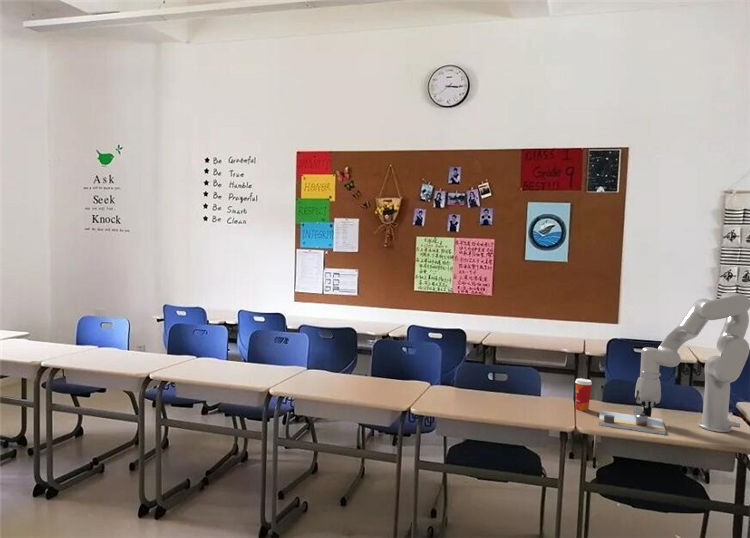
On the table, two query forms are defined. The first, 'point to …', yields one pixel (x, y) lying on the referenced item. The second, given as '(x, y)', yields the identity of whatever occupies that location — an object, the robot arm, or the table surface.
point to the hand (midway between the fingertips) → (647, 416)
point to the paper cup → (583, 394)
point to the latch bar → (640, 416)
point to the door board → (630, 422)
